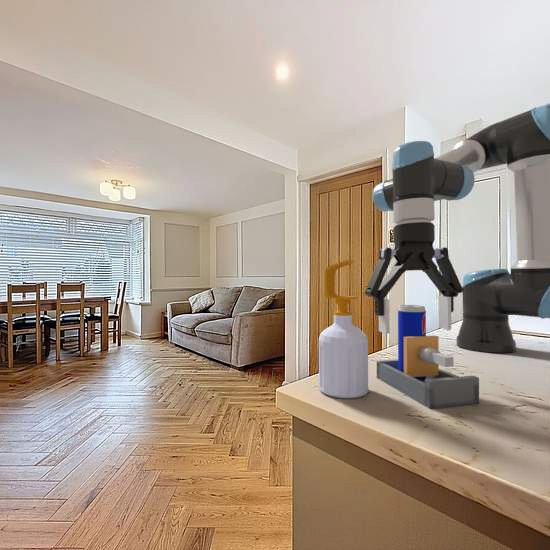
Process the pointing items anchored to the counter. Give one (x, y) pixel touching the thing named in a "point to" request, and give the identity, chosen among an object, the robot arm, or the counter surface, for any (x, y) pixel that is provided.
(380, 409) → the counter surface
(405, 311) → the beverage can
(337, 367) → the soap bottle
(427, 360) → the pusher
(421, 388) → the grey tray
